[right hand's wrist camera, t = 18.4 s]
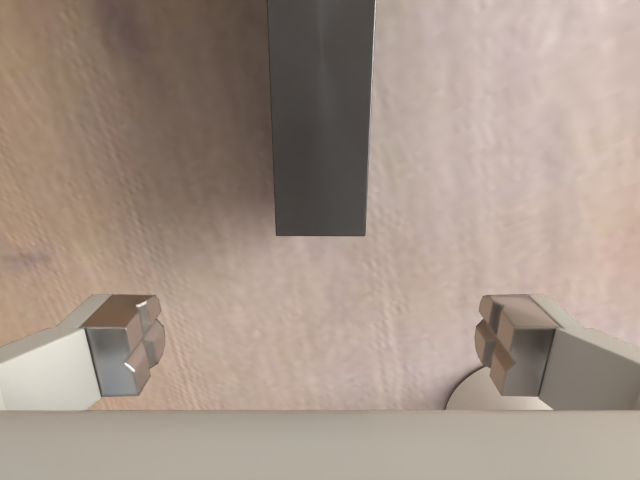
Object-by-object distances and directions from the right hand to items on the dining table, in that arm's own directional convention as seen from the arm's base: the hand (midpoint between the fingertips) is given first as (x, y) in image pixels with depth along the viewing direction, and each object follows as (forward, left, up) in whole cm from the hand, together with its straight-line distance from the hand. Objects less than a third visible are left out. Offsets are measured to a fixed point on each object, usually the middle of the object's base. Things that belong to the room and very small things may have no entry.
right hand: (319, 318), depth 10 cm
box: (+6, -5, -26) cm, 27 cm away
